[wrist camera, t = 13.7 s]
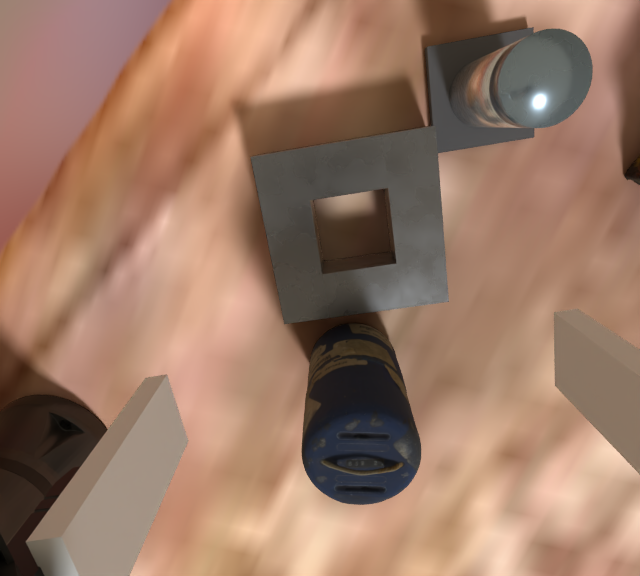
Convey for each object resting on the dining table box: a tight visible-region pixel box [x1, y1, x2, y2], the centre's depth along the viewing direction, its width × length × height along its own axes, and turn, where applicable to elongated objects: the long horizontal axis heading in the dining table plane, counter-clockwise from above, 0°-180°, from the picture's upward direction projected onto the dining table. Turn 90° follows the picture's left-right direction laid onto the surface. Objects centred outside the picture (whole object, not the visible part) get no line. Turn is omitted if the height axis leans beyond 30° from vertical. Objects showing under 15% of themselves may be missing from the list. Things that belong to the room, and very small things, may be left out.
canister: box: [302, 323, 421, 505], centre depth 42 cm, size 10×10×18 cm
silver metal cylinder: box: [450, 29, 592, 128], centre depth 34 cm, size 6×6×13 cm
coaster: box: [425, 27, 534, 153], centre depth 41 cm, size 9×9×1 cm
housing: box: [251, 126, 449, 324], centre depth 43 cm, size 16×16×4 cm
